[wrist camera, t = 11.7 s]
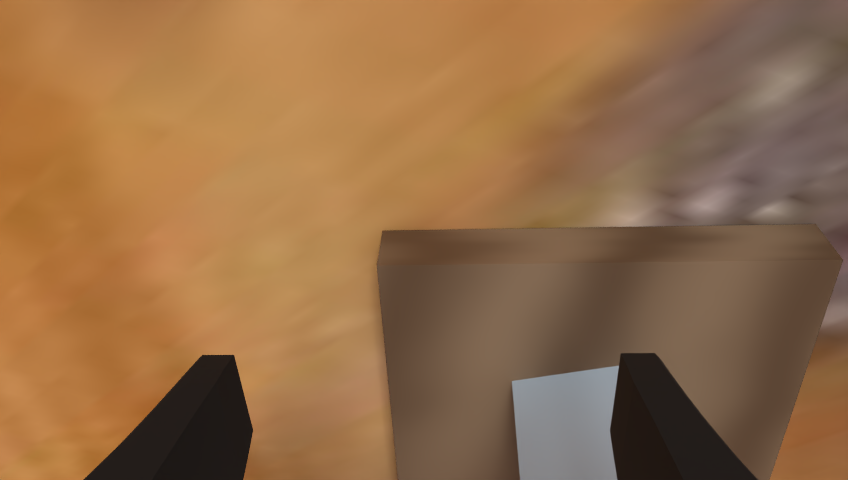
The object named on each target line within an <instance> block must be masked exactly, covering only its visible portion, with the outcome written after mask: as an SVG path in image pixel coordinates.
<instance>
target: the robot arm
mask: <svg viewBox="0 0 848 480" xmlns="http://www.w3.org/2000/svg"><path fill="white" fill-rule="evenodd" d="M252 433H253V428H252V424H251V420H250V417H249V413H248V409H247V405H246V401H245V397H244V393H243V389H242V385H241V381H240V377H239V373H238V369H237V365H236V361H235V357H234V355H202V356H201V357H200V358H199V359H198V360H197V361H196V362H195V363H194V365H193V366H192V367H191V368H190V369H189V370H188V371H187V372H186V373H185V374H184V376H183V377H182V378H181V379H180V380H179V381H178V382H177V383H176V385H175V386H174V387H173V388H172V389H171V390H170V391H169V392H168V393H167V395H166V396H165V397H164V398H163V399H162V400H161V401H160V402H159V403H158V404H157V406H156V407H155V408H154V409H153V410H152V411H151V412H150V413H149V414H148V415H147V416H146V417H145V418H144V420H143V421H142V422H141V423H140V424H139V425H138V426H137V427H136V428H135V429H134V430H133V431H132V432H131V433H130V434H129V435H128V436H127V438H126V439H125V440H124V441H123V442H122V443H121V444H120V445H119V446H118V447H117V448H116V449H115V450H114V451H113V452H112V453H111V454H110V455H109V456H108V457H106V458H105V459H104V460H103V461H102V462H101V463H100V464H99V465H98V466H97V467H96V468H95V469H94V470H93V471H92V472H91V473H90V474H89V475H88V476H87V477H86V478H85V479H84V480H243V478H244V473H245V468H246V464H247V459H248V454H249V449H250V443H251V438H252ZM610 435H611V442H612V449H613V456H614V462H615V468H616V475H617V480H758V479H757V478H756V477H755V476H754V475H753V474H752V473H751V471H750V470H749V469H748V468H747V467H746V466H745V465H744V464H743V463H742V462H741V460H740V459H739V458H738V457H737V456H736V455H735V454H734V453H733V451H732V450H731V449H730V448H729V447H728V446H727V444H726V443H725V442H724V441H723V440H722V438H721V437H720V436H719V435H718V434H717V432H716V431H715V430H714V429H713V428H712V426H711V425H710V424H709V423H708V422H707V420H706V419H705V418H704V417H703V415H702V414H701V413H700V412H699V410H698V409H697V408H696V406H695V405H694V404H693V402H692V401H691V400H690V399H689V397H688V396H687V395H686V393H685V392H684V391H683V389H682V388H681V387H680V385H679V384H678V383H677V381H676V380H675V378H674V377H673V376H672V374H671V373H670V372H669V370H668V369H667V367H666V366H665V365H664V363H663V362H662V360H661V359H660V358H659V357H658V356H657V355H656V354H655V353H621V355H620V362H619V369H618V376H617V383H616V391H615V398H614V405H613V412H612V419H611V426H610Z"/></svg>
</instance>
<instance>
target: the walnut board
mask: <svg viewBox="0 0 848 480" xmlns="http://www.w3.org/2000/svg"><path fill="white" fill-rule="evenodd" d="M842 262H843V259H842V258H841V257H840V255H839V254H838V253H837V251H836V250H835V249H834V247H833V246H832V245H831V244H830V242H829V241H828V240H827V238H826V237H825V236H824V235H823V233H822V232H821V231H820V229H819V228H818V227H817V225H816V224H797V225H731V226H665V227H599V228H532V229H466V230H400V231H383V232H382V238H381V244H380V250H379V256H378V262H377V272H378V282H379V292H380V303H381V313H382V323H383V333H384V343H385V353H386V363H387V373H388V384H389V394H390V404H391V414H392V424H393V434H394V444H395V455H396V465H397V475H398V480H520V473H519V461H518V449H517V437H516V425H515V413H514V401H513V389H512V381H515V380H522V379H529V378H536V377H543V376H550V375H557V374H564V373H571V372H578V371H585V370H592V369H599V368H606V367H613V366H619V362H620V355H621V353H655V354H656V355H657V356H658V357H659V358H660V359H661V360H662V362H663V363H664V365H665V366H666V367H667V369H668V370H669V372H670V373H671V374H672V376H673V377H674V378H675V380H676V381H677V383H678V384H679V385H680V387H681V388H682V389H683V391H684V392H685V393H686V395H687V396H688V397H689V399H690V400H691V401H692V402H693V404H694V405H695V406H696V408H697V409H698V410H699V412H700V413H701V414H702V415H703V417H704V418H705V419H706V420H707V422H708V423H709V424H710V425H711V426H712V428H713V429H714V430H715V431H716V432H717V434H718V435H719V436H720V437H721V438H722V440H723V441H724V442H725V443H726V444H727V446H728V447H729V448H730V449H731V450H732V451H733V453H734V454H735V455H736V456H737V457H738V458H739V459H740V460H741V462H742V463H743V464H744V465H745V466H746V467H747V468H748V469H749V470H750V471H751V473H752V474H753V475H754V476H755V477H756V478H757V479H758V480H770V477H771V474H772V471H773V468H774V465H775V462H776V459H777V456H778V453H779V450H780V447H781V444H782V441H783V438H784V435H785V432H786V429H787V426H788V423H789V420H790V417H791V414H792V411H793V408H794V405H795V402H796V399H797V396H798V393H799V390H800V387H801V384H802V381H803V378H804V375H805V372H806V369H807V366H808V363H809V360H810V357H811V354H812V351H813V348H814V345H815V342H816V339H817V336H818V333H819V330H820V327H821V324H822V321H823V318H824V315H825V312H826V309H827V306H828V303H829V300H830V297H831V294H832V291H833V288H834V285H835V282H836V280H837V277H838V274H839V271H840V268H841V265H842Z"/></svg>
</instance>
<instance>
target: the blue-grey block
mask: <svg viewBox="0 0 848 480" xmlns="http://www.w3.org/2000/svg"><path fill="white" fill-rule="evenodd" d="M618 369H619V366H613V367H606V368H599V369H592V370H585V371H578V372H571V373H564V374H557V375H550V376H543V377H536V378H529V379H522V380H515V381H512V389H513V401H514V413H515V425H516V437H517V449H518V461H519V473H520V480H617V475H616V468H615V462H614V456H613V449H612V442H611V435H610V426H611V419H612V412H613V405H614V398H615V391H616V383H617V376H618Z"/></svg>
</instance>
